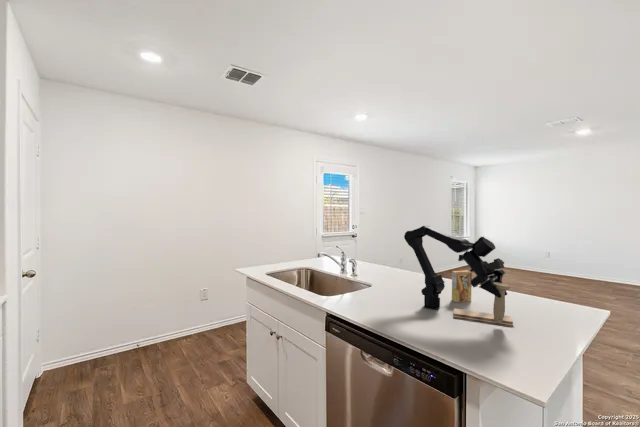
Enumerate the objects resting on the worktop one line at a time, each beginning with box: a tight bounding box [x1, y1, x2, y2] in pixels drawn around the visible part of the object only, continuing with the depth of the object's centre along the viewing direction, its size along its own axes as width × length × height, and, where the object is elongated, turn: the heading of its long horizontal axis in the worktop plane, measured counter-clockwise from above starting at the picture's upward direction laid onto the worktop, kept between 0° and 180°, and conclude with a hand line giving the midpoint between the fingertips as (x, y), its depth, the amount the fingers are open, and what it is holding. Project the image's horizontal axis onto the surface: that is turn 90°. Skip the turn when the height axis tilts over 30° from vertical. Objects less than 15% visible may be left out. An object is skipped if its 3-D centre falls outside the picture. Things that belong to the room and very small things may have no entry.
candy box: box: [451, 269, 473, 303], centre depth 152 cm, size 9×4×15 cm, turn 103°
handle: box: [492, 282, 510, 322], centre depth 117 cm, size 5×6×15 cm
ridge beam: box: [452, 308, 514, 328], centre depth 128 cm, size 22×10×2 cm, turn 64°
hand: (503, 296), depth 116 cm, fingers closed on handle, 5 cm apart
